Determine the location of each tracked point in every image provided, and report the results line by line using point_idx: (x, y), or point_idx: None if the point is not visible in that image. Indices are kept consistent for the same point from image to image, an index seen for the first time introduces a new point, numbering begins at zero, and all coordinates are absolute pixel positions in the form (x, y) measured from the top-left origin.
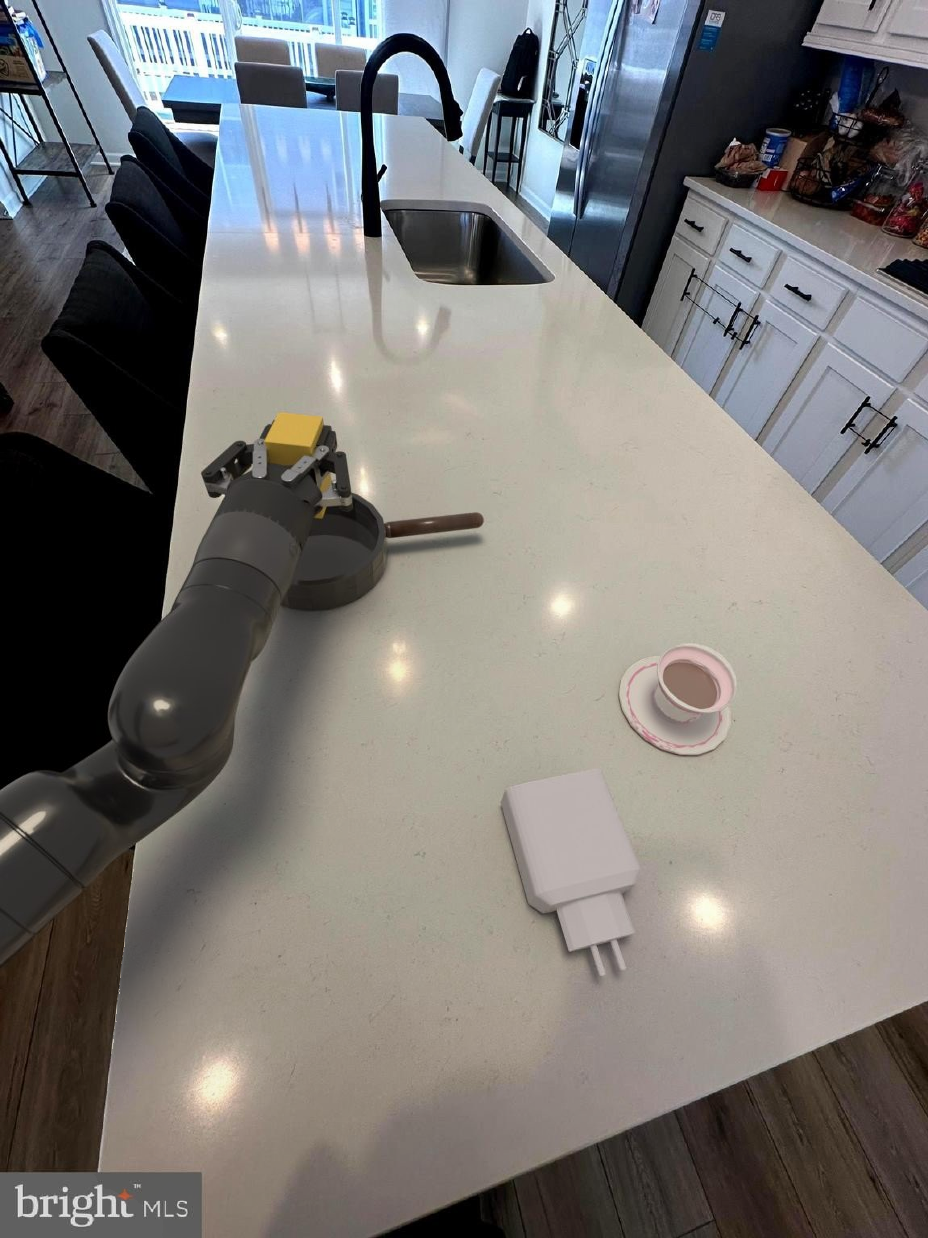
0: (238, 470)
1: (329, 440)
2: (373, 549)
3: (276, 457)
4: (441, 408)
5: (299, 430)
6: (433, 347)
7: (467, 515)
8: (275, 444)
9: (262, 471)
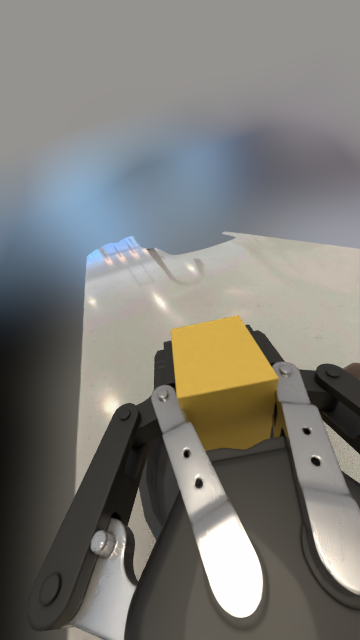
0: (133, 469)
1: (266, 347)
2: (273, 436)
3: (202, 416)
4: (229, 297)
5: (225, 349)
6: (202, 273)
7: (353, 369)
8: (201, 396)
9: (238, 549)
